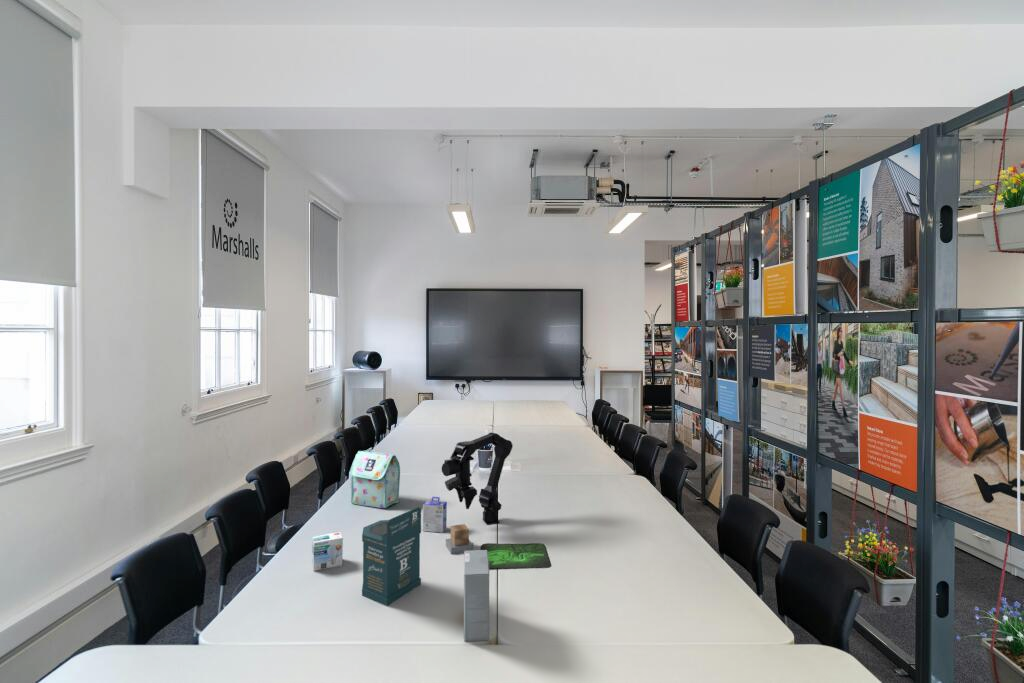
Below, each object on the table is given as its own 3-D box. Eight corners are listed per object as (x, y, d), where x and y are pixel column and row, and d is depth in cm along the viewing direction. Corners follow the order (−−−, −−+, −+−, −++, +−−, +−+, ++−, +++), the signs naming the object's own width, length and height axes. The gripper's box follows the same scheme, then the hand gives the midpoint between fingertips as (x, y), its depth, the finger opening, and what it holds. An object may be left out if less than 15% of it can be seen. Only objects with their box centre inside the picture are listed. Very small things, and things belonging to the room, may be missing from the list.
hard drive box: (464, 611, 156) (464, 549, 156) (487, 610, 157) (488, 549, 157) (463, 642, 141) (463, 573, 140) (489, 641, 141) (490, 572, 141)
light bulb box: (313, 571, 182) (313, 542, 181) (311, 564, 188) (311, 536, 187) (343, 565, 187) (343, 537, 186) (340, 558, 193) (340, 531, 192)
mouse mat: (544, 543, 208) (544, 541, 208) (553, 568, 186) (553, 566, 186) (480, 545, 206) (480, 543, 206) (481, 571, 184) (481, 568, 184)
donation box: (386, 606, 159) (387, 520, 159) (353, 592, 168) (353, 510, 167) (420, 584, 173) (421, 506, 172) (388, 572, 181) (388, 497, 181)
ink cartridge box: (447, 528, 223) (447, 496, 223) (443, 533, 218) (443, 500, 217) (426, 526, 225) (426, 495, 224) (422, 531, 219) (422, 499, 219)
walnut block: (464, 538, 206) (464, 523, 206) (468, 543, 201) (468, 529, 201) (450, 540, 204) (450, 526, 204) (454, 546, 198) (454, 531, 198)
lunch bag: (346, 505, 252) (346, 453, 251) (367, 495, 267) (367, 446, 266) (383, 511, 243) (383, 457, 242) (402, 501, 258) (403, 450, 258)
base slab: (466, 543, 208) (466, 536, 208) (472, 551, 200) (472, 544, 200) (445, 546, 205) (445, 539, 205) (451, 555, 197) (451, 547, 197)
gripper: (440, 467, 224) (441, 501, 225) (452, 479, 207) (453, 515, 208) (463, 464, 229) (464, 497, 229) (477, 476, 212) (477, 511, 212)
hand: (464, 505), depth 219 cm, fingers open, 9 cm apart
